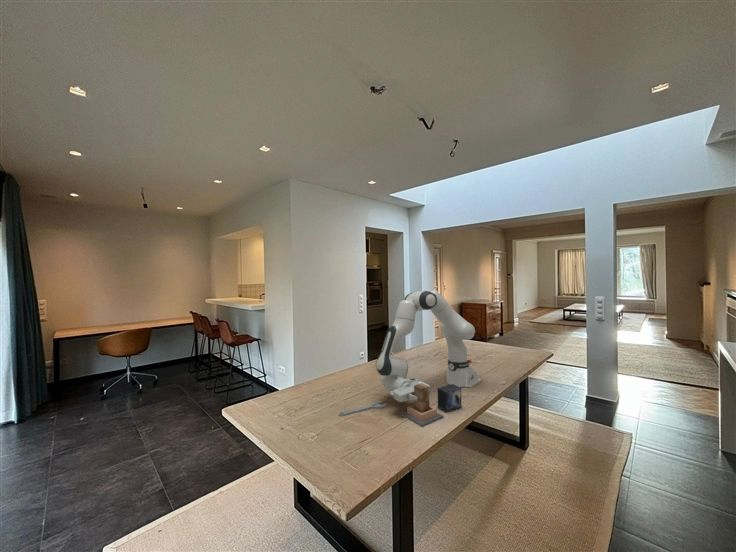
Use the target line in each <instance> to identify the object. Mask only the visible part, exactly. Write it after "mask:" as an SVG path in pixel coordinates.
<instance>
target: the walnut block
mask: <svg viewBox="0 0 736 552" xmlns="http://www.w3.org/2000/svg"><path fill="white" fill-rule="evenodd" d="M429 386H430V385H429ZM429 386H427V385H424V384H422V383H421V384H418V385H415V386H414V396H416V395H417V396H419V400H418V401H416V400H413V402H414V403H413V405H414V409H415V410H417V411H419V412H421V413H424V412H426V411H429V410H430V408H429V405H430V393H429Z"/></svg>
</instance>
